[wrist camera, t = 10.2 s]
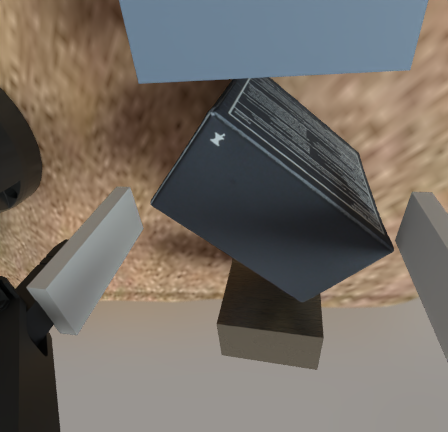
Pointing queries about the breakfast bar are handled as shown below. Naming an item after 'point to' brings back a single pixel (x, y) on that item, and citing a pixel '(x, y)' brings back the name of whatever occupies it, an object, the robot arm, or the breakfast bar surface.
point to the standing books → (269, 37)
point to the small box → (276, 191)
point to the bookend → (268, 322)
